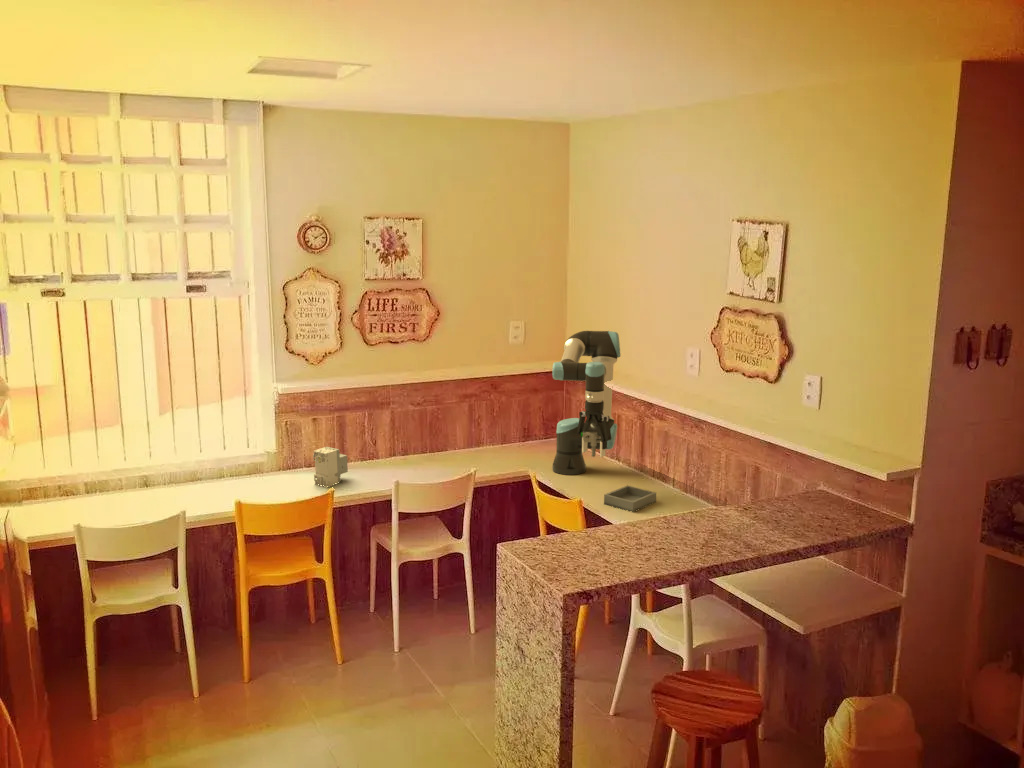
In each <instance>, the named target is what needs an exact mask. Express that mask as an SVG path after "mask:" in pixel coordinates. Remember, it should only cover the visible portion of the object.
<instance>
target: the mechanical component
mask: <svg viewBox="0 0 1024 768" xmlns="http://www.w3.org/2000/svg"><path fill="white" fill-rule="evenodd" d="M587 435H589V436H590V437H589V438H587V437H586V436H587ZM581 437H583V441H584V442H591V446H592V449H591V457H593V458H595V457H596V449H595V448H596V446H597V445H596V443H600V441H602V440H597V438H599V439H601V436H598V435H597V432H583V433H581Z"/></svg>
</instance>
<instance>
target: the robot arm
mask: <svg viewBox="0 0 1024 768" xmlns="http://www.w3.org/2000/svg"><path fill="white" fill-rule="evenodd" d="M620 345H621V343H620V336H619V333H618V332H617V331H610V330H582V331H579V332H576V333H574V334H572V335H570V336H569V337H568V338H567V339H566V341H565V342H564V346H563V350H564V352H563V354H562V357H561V358H560V359H561V360H560V361H555V362H553V364H552V372H551V374H552V379H553V380H555V381H557V380H558V381H571V382H572V381H576V382H577V381H580V382H585V394H584V396H585V397H584V398H585V399H584V400H585V402H584V404H585V405H584V410H583V411H580V412H579V415H578V416H579V418H578V417H571V418H565V419H562V420H559V421H558V423H557V424H556V431H555V433H556V454H555V457H554V459H553V463H552V469H551V470H552V472H554V473H557V474H559V473H560V474H559V475H567V476H568V475H570V476H572V475H573V476H574V475H575V476H576V475H581V474H583V473H585V472H587V465H586V462H585V458H584V455H583V453H586V452H587V453H588V449H589V450H592V446H591V442H584V441H583V437H581V433H583V432H597V435H598V436H601V439H599V438H597V440H602V441H600V443H596V445H597V446H596V448H595V450H599V457H600V458H603V457H606V452H607V450H613V448H614V446H615V443H616V439H617V435H618V434H617V432H618V424H617V423H615V418H613V417H612V408H613V405H612V404H613V402H612V401H613V388H612V389H611V388H609V387H607V386H606V385H605V384H604V383H605V382H607V381H611V380H613V379H614V365H615V363H617V362H618V358H620V357H621V356H622V355H621V346H620ZM582 357H591V361H589V362H580V360H581V358H582ZM586 437H587V438H589V437H590V436H589V435H587V436H586Z"/></svg>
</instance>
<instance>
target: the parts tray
mask: <svg viewBox="0 0 1024 768" xmlns="http://www.w3.org/2000/svg"><path fill="white" fill-rule="evenodd" d="M652 503H653V504H655V503H657V492H655V491H651V490H647V489H644V488H640V487H637V486H636V487H635V486H631V485H628V484H627V485H625V486H622V487H619V488H618V489H614V490H612V491H610V492H608V493H605V494H604V496H603V505H605V506H608V507H612V506H613V508H616V507H617V508H616V509H619V508H620V510H623V509H624V511H626V510H628V511H627V512H630V511H632V512H631V513H635V512H637V511H639V510H641V508H642V509H644V508H646V507H648V506H651V505H652ZM650 504H651V505H650ZM645 506H646V507H645ZM643 507H644V508H643ZM638 509H639V510H638ZM636 510H637V511H636ZM634 511H635V512H634Z"/></svg>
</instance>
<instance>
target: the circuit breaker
mask: <svg viewBox="0 0 1024 768" xmlns="http://www.w3.org/2000/svg"><path fill="white" fill-rule="evenodd" d="M312 460H313V461H314V467H315V471H314V472H315V473H314V474H313V480H314V485H315V484H316V485H315V486H318V484H319V485H322V486H323V485H324V486H326V487H327V486H331V487H333V486H334V485H333V484H335V483H338V482H340V481H341V482H342V480H341V476H342V475H343V474H346V473H348V472H349V471H348V467H349V466H348V463H349V460H348V455H347V454H344V453H343V454H342V453H340V449H339V448H334V447H331V446H325V447H320V448H318V449H315V450H313V454H312ZM332 485H333V486H332ZM322 486H321V487H322ZM326 487H325V488H326Z"/></svg>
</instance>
